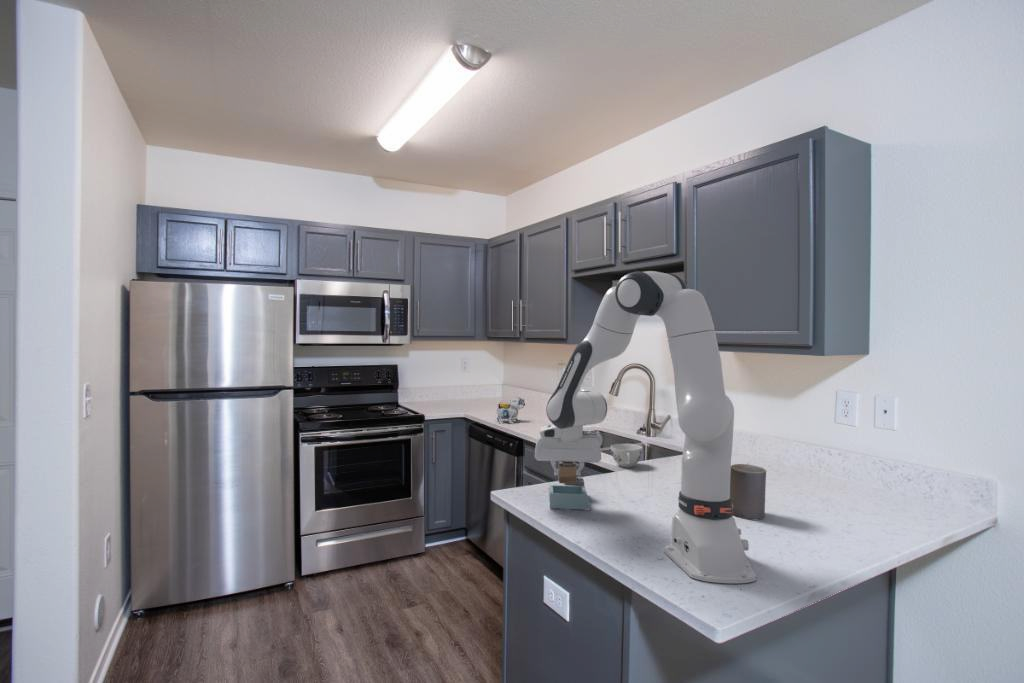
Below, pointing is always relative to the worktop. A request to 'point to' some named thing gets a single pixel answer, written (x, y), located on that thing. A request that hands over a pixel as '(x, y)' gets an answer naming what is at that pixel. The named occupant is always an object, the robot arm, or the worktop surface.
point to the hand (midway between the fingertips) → (567, 475)
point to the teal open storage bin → (569, 495)
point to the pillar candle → (748, 491)
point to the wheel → (577, 468)
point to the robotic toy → (510, 410)
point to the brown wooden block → (567, 472)
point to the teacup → (626, 454)
